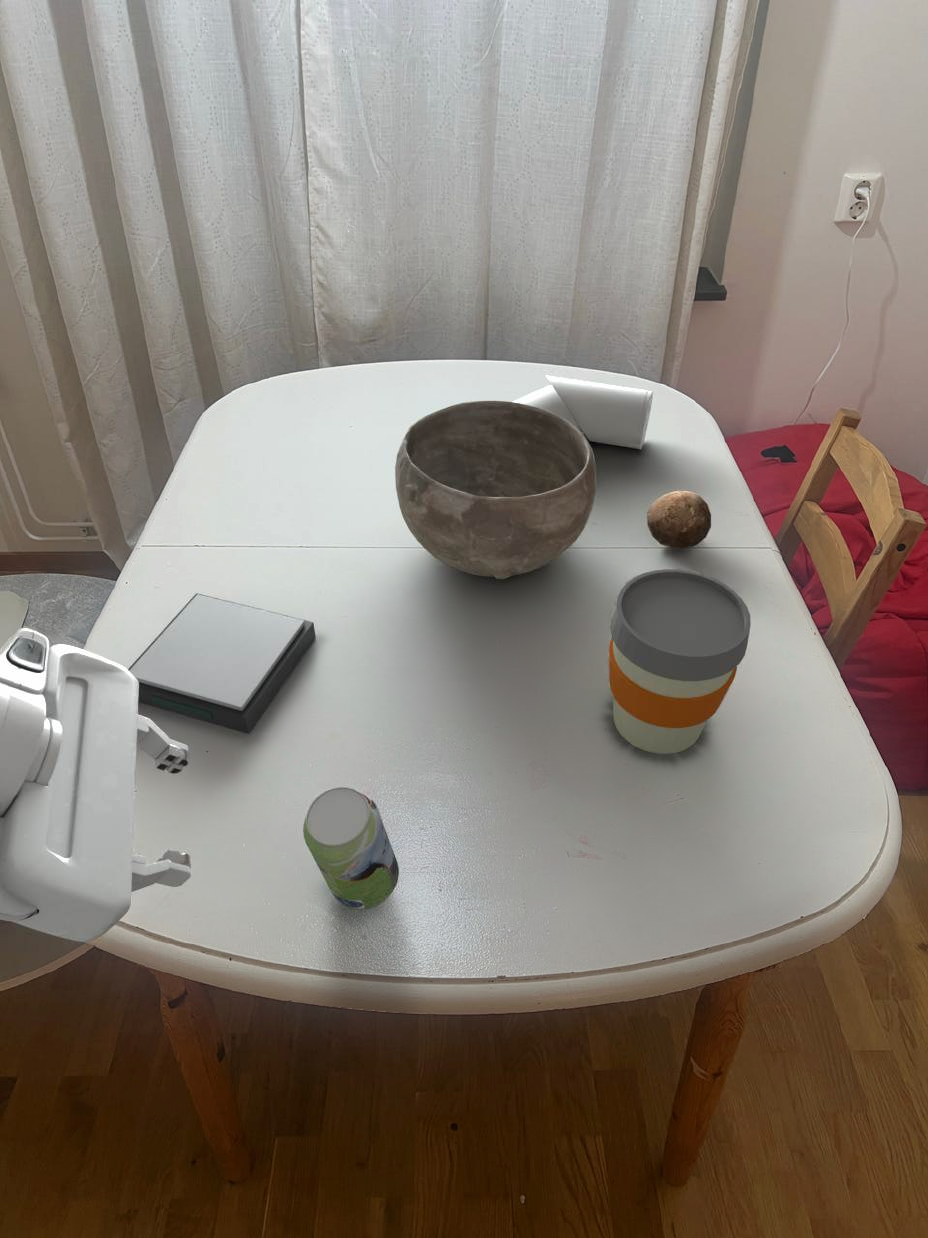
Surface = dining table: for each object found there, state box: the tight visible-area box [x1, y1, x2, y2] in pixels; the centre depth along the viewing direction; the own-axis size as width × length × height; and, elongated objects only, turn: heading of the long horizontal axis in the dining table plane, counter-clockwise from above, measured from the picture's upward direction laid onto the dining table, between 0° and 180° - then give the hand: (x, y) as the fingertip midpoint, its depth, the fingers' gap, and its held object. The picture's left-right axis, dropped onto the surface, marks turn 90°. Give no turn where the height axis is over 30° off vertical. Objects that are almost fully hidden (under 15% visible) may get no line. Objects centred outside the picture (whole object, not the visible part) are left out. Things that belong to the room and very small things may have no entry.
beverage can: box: [302, 786, 400, 911], centre depth 69 cm, size 6×7×12 cm
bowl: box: [394, 400, 597, 580], centre depth 104 cm, size 24×24×15 cm
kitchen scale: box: [127, 592, 317, 735], centre depth 92 cm, size 15×15×3 cm
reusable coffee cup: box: [608, 568, 752, 755], centre depth 82 cm, size 13×13×15 cm
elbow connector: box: [513, 375, 654, 450], centre depth 125 cm, size 18×11×20 cm
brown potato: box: [646, 490, 712, 549], centre depth 109 cm, size 8×8×6 cm
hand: (185, 813), depth 60 cm, fingers open, 8 cm apart
